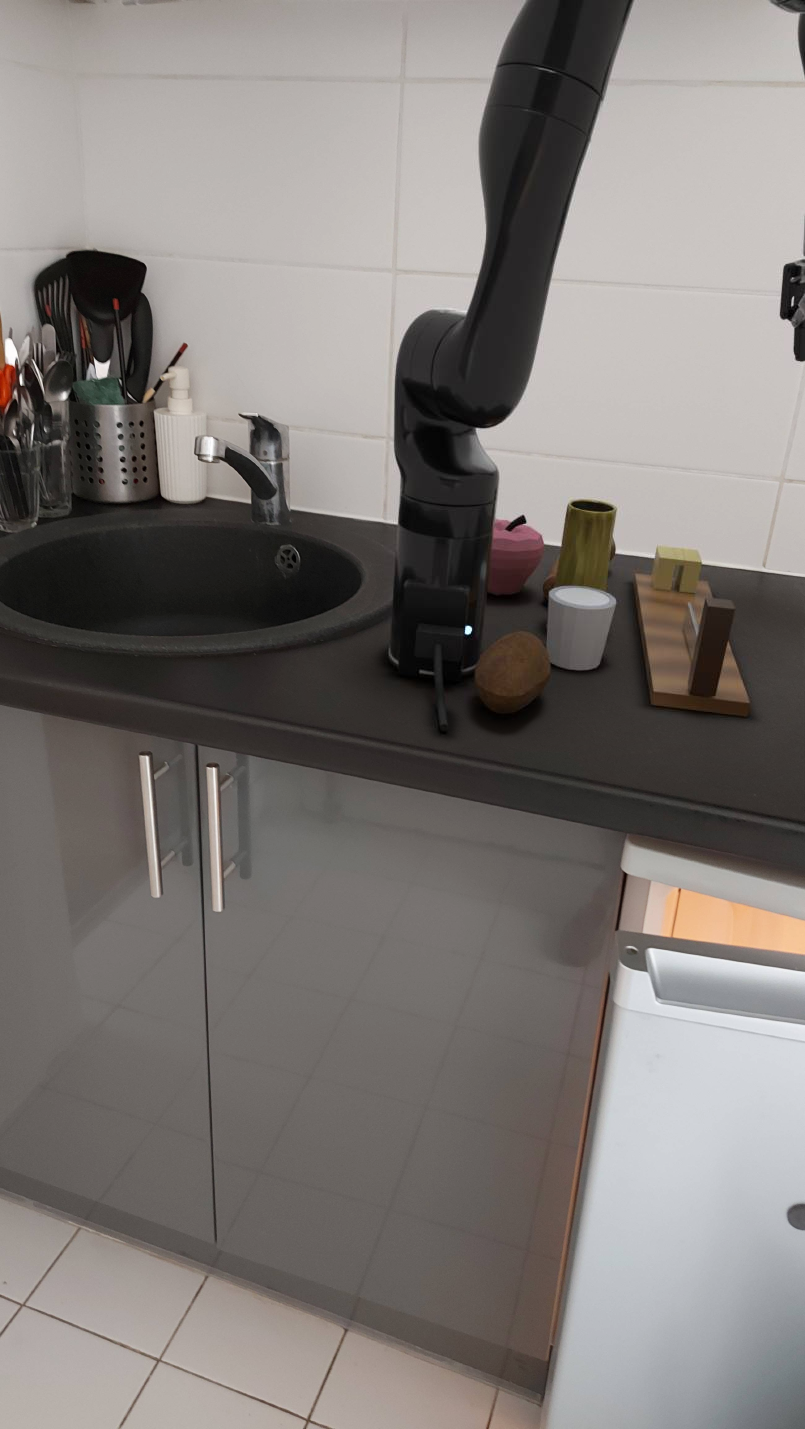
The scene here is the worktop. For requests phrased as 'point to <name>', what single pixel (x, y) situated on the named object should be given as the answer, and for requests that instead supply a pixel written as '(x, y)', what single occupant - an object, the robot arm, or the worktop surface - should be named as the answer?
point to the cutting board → (681, 651)
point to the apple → (513, 555)
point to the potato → (512, 672)
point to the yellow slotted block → (686, 570)
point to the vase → (586, 544)
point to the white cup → (578, 626)
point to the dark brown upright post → (708, 643)
